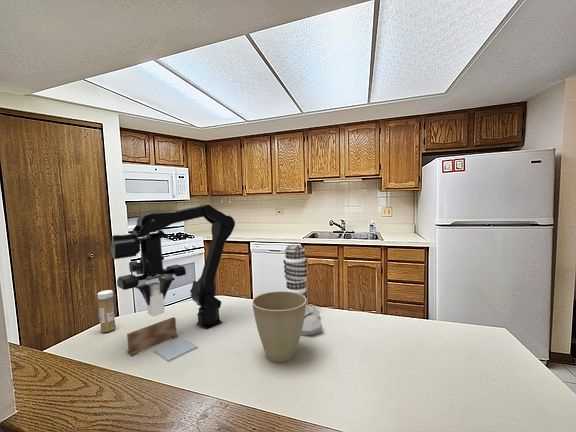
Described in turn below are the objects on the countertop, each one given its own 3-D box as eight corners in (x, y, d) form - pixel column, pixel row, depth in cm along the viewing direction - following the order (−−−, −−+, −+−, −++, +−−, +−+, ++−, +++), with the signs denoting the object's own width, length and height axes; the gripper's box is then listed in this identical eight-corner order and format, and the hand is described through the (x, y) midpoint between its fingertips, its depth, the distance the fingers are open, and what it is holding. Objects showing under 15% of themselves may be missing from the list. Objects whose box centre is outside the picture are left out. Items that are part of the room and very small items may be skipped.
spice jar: (116, 330, 98) (113, 292, 97) (100, 334, 95) (97, 294, 94) (115, 325, 102) (112, 288, 101) (100, 329, 99) (97, 291, 98)
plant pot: (298, 376, 69) (296, 313, 68) (244, 366, 74) (242, 307, 73) (314, 346, 83) (312, 293, 82) (267, 339, 88) (265, 288, 87)
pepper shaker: (165, 313, 89) (163, 283, 88) (152, 317, 86) (149, 286, 85) (159, 310, 92) (157, 281, 91) (147, 314, 89) (144, 284, 88)
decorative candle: (301, 315, 105) (299, 248, 103) (280, 310, 110) (278, 247, 108) (312, 307, 113) (310, 244, 111) (292, 303, 118) (290, 243, 116)
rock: (315, 312, 108) (315, 287, 108) (331, 337, 88) (330, 307, 88) (268, 316, 106) (267, 291, 105) (272, 343, 86) (271, 312, 85)
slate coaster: (181, 339, 90) (181, 337, 90) (197, 348, 84) (197, 346, 84) (153, 351, 83) (153, 349, 83) (168, 362, 77) (168, 360, 77)
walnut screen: (172, 334, 94) (171, 316, 93) (177, 337, 92) (176, 318, 91) (127, 352, 83) (125, 333, 83) (131, 356, 81) (130, 336, 80)
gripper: (169, 246, 100) (172, 289, 101) (108, 256, 86) (113, 306, 87) (185, 249, 92) (188, 296, 93) (121, 260, 78) (126, 315, 79)
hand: (155, 302), depth 88 cm, fingers closed on pepper shaker, 4 cm apart
